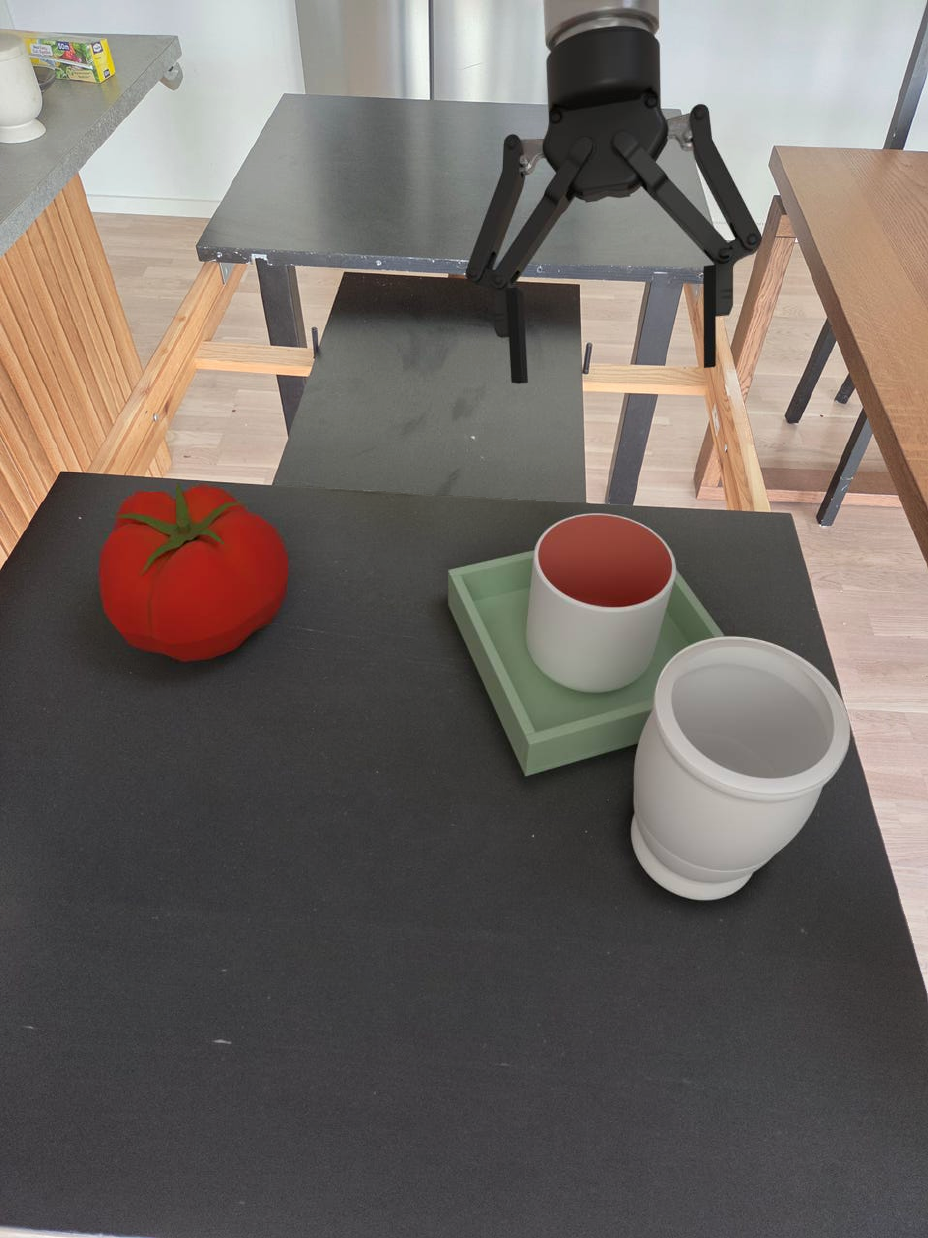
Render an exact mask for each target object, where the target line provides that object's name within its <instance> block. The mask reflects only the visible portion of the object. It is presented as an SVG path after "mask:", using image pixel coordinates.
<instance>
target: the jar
mask: <svg viewBox="0 0 928 1238" xmlns="http://www.w3.org/2000/svg"><path fill="white" fill-rule="evenodd" d="M849 719H850V718H849V715H848V712H847V708H846V706H845V704H844V702H843V700H842V698H841V696H840V695H839V692H838V691H837V689H836V688H835V686H833V684H832V683H831V682H830V680H829V679H828V678H827V677H826V676H825V675H824V674H823V673H822V672H821V671H820V670H819V669H818V668H816V666H814V665H813V664H812V663H810V661H807V660H806V659H805V658H803V657H801V656H800V655H799V654H797V653H795V652H793V651H791V650H789V649H787V648H785V647H782V646H780V645H777V644H775V643H772V642H769V641H766V640H762V639H758V638H753V637H745V636H725V637H717V638H711V639H707V640H703V641H700V642H697V643H694V644H692V645H690V646H688V647H686V648H685V649H683V650H681V651H680V652H679V653H677V654H676V655H675V656H674V657H673V658H672V659H671V660H670V661H669V662H668V663H667V665H666V666H665V667H664V669H663V671H662V672H661V674H660V677H659V679H658V682H657V685H656V688H655V692H654V697H653V710H652V712H651V714H650V716H649V718H648V720H647V722H646V724H645V726H644V729H643V731H642V734H641V737H640V740H639V743H637V747H636V753H635V758H634V767H633V810H634V812H633V813H634V814H633V815H632V819H631V824H630V825H631V826H630V839H631V844H632V848H633V851H634V854H635V856H636V859H637V860H638V862H639V864H640V866H641V867H642V869H643V870H644V871H645V872H646V874H647V875H649V877H650V878H651V879H652V880H653V881H655V883H657V884H658V885H659V886H660V887H662V888H664V889H665V890H667V891H669V892H671V893H672V894H675V895H677V896H679V897H683V898H686V899H690V900H695V901H714V900H720V899H723V898H726V897H728V896H731V895H733V894H735V893H736V892H737V891H739V890H741V888H743V887H744V886H745V885H746V884H747V883H748V882H749V880H750V878H751V877H752V876H753V873H754V872H756V871H758V870H759V869H761V868H762V867H763V866H764V865H766V864H767V863H768V862H769V861H770V860H771V859H772V858H774V856H775V855H777V854H778V853H779V852H780V851H782V850H783V849H784V848H785V847H786V846H787V845H788V844H789V843H791V841H792V840H794V838H795V837H796V836H797V835H798V834H799V833H800V831H801V830H802V828H803V827H804V826H805V824H806V823H807V822H808V820H809V818H810V817H811V815H812V813H813V811H814V809H815V807H816V805H817V803H818V800H819V798H820V795H821V793H822V790H823V787H824V786H825V785H826V784H827V783H828V782H830V780H831V779H832V778H833V777H834V776H835V774H836V773H837V772H838V770H839V768H840V767H841V765H842V764H843V761H844V759H845V757H846V755H847V752H848V750H849V746H850V740H851V727H850V726H851V725H850V720H849Z"/></svg>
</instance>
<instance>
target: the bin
mask: <svg viewBox="0 0 928 1238" xmlns="http://www.w3.org/2000/svg"><path fill="white" fill-rule="evenodd" d="M534 550H535V549H534ZM534 550H530V551H525V552H520V553H516V554H512V555H507V556H503V557H498V558H493V559H490V560H486V561H482V562H477V563H472V564H468V565H464V566H460V567H455V568H451V569H448V570H447V605H448V608H449V609H450V611H451V612H450V613H451V614H452V617H453V619H454V621H455V623H456V626H457V628H458V630H459V633H460V634H461V637H462V639H463V641H464V643H465V645H466V648H467V650H468V652H469V654H470V656H471V659H472V661H473V663H474V666H475V668H476V670H477V672H478V674H479V677H480V679H481V681H482V683H483V685H484V688H485V690H486V692H487V694H488V696H489V699H490V701H491V704H492V706H493V708H494V711H495V712H496V714H497V717H498V719H499V721H500V724H501V726H502V728H503V731H504V732H505V734H506V737H507V739H508V741H509V743H510V745H511V748H512V750H513V752H514V755H515V756H516V759H517V762H518V764H519V765H520V768H521V770H522V772H523V774H524V776H525V777H528V776H531V775H532V776H533V775H535V774H538V773H542V772H545V771H548V770H552V769H555V768H559V767H562V766H566V765H569V764H572V763H576V762H579V761H582V760H583V761H584V760H586V759H589V758H593V757H596V756H597V757H598V756H599V755H603V754H607V753H610V752H613V751H617V750H620V749H624V748H628V747H630V746H634V745H638V744H639V740H640V737H641V734H642V731H643V729H644V726H645V724H646V722H647V720H648V718H649V716H650V714H651V712H652V710H653V697H654V692H655V688H656V685H657V682H658V679H659V677H660V674H661V672H662V671H663V669H664V667H665V666H666V665H667V663H668V662H669V661H670V660H671V659H672V658H673V657H674V656H675V655H676V654H677V653H679V652H680V651H681V650H683V649H685V648H686V647H688V646H690V645H692V644H694V643H697V642H700V641H703V640H707V639H711V638H717V637H726V636H725V634H724V633H723V632H722V630H721V629H720V628H719V626H718V625H717V623H716V622H715V621H714V618H712V617H711V615H710V613H709V612H708V611H707V610H706V608H705V607H704V605H703V604H702V603H701V601H700V600H699V598H698V597H697V596H696V594H695V593H694V592H693V590H692V589H691V588H690V586H689V584H688V583H687V582H686V580H685V579H684V578H683V576H682V575H681V573H679V571H678V570H677V569H676V575H675V579H674V583H673V586H672V590H671V594H670V597H669V601H668V604H667V608H666V611H665V615H664V618H663V622H662V625H661V629H660V633H659V636H658V640H657V643H656V647H655V651H654V654H653V657H652V660H651V662H650V664H649V666H648V668H647V669H646V670H645V672H644V673H643V674H642V675H641V676H640V677H639V678H638V679H637V680H635V681H634V682H632V683H631V684H629V685H627V686H625V687H623V688H620V689H618V690H614V691H609V692H602V693H589V692H581V691H576V690H573V689H569V688H567V687H564V686H562V685H560V684H558V683H556V682H554V681H553V680H551V679H550V678H548V677H547V676H546V675H545V674H544V673H543V672H542V671H541V670H540V669H539V668H538V667H537V666H536V664H535V663H534V661H533V660H532V658H531V656H530V654H529V651H528V648H527V644H526V626H527V616H528V606H529V597H530V587H531V577H532V567H533V557H534Z"/></svg>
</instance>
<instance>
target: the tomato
mask: <svg viewBox="0 0 928 1238" xmlns="http://www.w3.org/2000/svg"><path fill="white" fill-rule="evenodd" d="M174 491H175V492H174V493H175V499H174V498H173V497H171V496H170V494H168V493H167V492H166V491H143V490H138V491H136V492H135V493H133V494H132V495H130V496H129V497H127V498H126V499H124V500H123V501H122V502H121V505H120V507H119V509H118V511H117V513H116V515H110V517H112V518H115V521H114V522H115V523H114V528H113V530H112V531H111V533H110V535H109V536H108V538H107V540H106V541H105V542H104V544H103V547H102V548H101V550H100V555H99V564H98V580H99V589H100V598H101V602H102V606H103V612H104V615H105V616H106V617H107V618H108V620H109V621H110V622H111V623H112V625H113V626H114V627H115V629H116V630H117V631H118V633H119V634H120V635H121V636H122V637H123V639H124V641H126V643H127V644H128V645H129V646H132V647H134V648H136V649H139V650H141V651H145V652H150V653H156V654H162V655H164V656H165V655H166V656H168V657H170V658H172V659H174V660H175V659H176V660H177V661H180V662H182V663H188V662H196V661H205V660H211V659H213V658H216V657H219V656H222V655H224V654H227V653H230V652H233V651H235V650H236V649H238V648H239V646H240V645H241V644H242V643H243V642H244V641H246V639H247V638H249V636H251V635H252V634H253V633H255V632H256V631H258V630H260V629H261V628H264V627H266V626H267V625H269V624H271V623H272V621H273V620H274V618H275V616H276V615H277V613H278V611H279V610H280V608H281V606H282V605H283V602H284V600H285V599H286V596H287V594H288V581H289V569H290V568H289V566H290V559H289V556H288V553H287V550H286V547H285V545H284V542H283V540H282V538H281V536H280V533H279V532H278V531H277V528H276V527H274V525H272V524H271V523H270V522H268V521H267V520H266V519H264V518H263V516H261V515H260V514H256V513H253V512H252V513H251V512H250V511H249V510H248V509H247V508H246V507H245V506H243V504H244V503H247V502H248V500H247V501H238V500H237V499H236V498H235V497H234V496H233V495H232V494H230V493H228V492H227V491H225V490H223V489H222V488H219V487H217V486H211V485H206V484H198V485H195V486H193V487H191V488H188V489H186V490H185V491H182V488H181V485H180V482H179V481H178V480H177V481H176V486H175V490H174Z"/></svg>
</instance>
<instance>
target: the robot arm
mask: <svg viewBox="0 0 928 1238" xmlns="http://www.w3.org/2000/svg"><path fill="white" fill-rule="evenodd" d="M542 1H543V21H544V22H543V23H544V42H545V46H546V48H547V49H548V51H549V54H548V56H547V58H546V60H545V64H546V65H545V66H546V87H547V88H546V89H547V90H546V91H547V111H548V125H547V130H546V133H545V135H544V138H525V139H521V138H520V137H519V136H518V135H517V134H515V133H511V134H509V135H507V136H506V137H505V138H504V140H503V145H502V147H503V149H502V171H501V173H500V176H499V178H498V181H497V184H496V187H495V190H494V192H493V195H492V197H491V201H490V203H489V206H488V208H487V212H486V214H485V217H484V219H483V222H482V225H481V228H480V230H479V233H478V236H477V239H476V241H475V243H474V247H473V249H472V251H471V255H470V257H469V260H468V262H467V266H466V268H465V277H466V279H467V280H468V281H469V282H470V283H472V284H474V285H476V286H478V287H482V288H487V289H489V290H490V292H491V295H492V311H493V312H492V313H493V327H494V331H495V334H496V336H497V337H498V338H500V339H504V338H508V344H509V345H508V346H509V347H508V348H509V363H510V365H509V366H510V380H511V381H510V382H511V384H517V385H518V384H528V383H529V379H528V377H529V376H528V375H529V374H528V357H527V339H526V337H527V336H526V319H525V318H526V317H525V316H526V315H525V301H524V299H525V297H524V291H522V290H521V289H520V288H518V287H514V286H515V285H516V283H517V282H518V280H519V279H520V277H521V276H522V274H523V273H524V271H525V269H527V267H528V265H529V264H530V263H531V261H532V259H533V258H534V256H535V255H536V253H537V252H538V250H539V249H540V248H541V246H542V244H543V243H544V241H545V240H546V238H547V237H548V235H549V234H550V232H551V231H552V230H553V228H554V227H555V225H556V224H557V222H558V220H559V219H560V218H561V216H562V215H563V214H564V213H565V212H566V211H567V210H568V208H569V207H570V206H571V204H572V202H573V201H574V199H575V198H576V199H578V200H580V201H583V202H585V203H586V204H587V203H595V202H598V201H601V200H603V199H605V198H608V197H609V198H616V199H624V198H630V197H631V195H632V194H634V193H636V192H637V191H638V190H639V189H640V188H642V189H643V190H644V191H645V193H646V194H648V195H649V196H650V197H651V199H653V200H654V201H655V202H656V203H657V204H658V205H659V207H661V208H662V209H663V210H664V212H665V213H666V214H667V215H668V216H669V217H670V218H671V219H672V220H673V221H674V223H676V225H678V227H679V228H680V229H681V230H682V232H684V233H685V234H686V236H688V238H689V239H690V240H691V241H692V242H693V243H694V244H695V245H696V246H697V248H698V249H700V251H701V252H702V253H703V254H704V255H705V256H706V257H707V258H708V260H709V261H710V262H711V263H712V264H710V265H704V266H703V271H702V294H703V296H702V298H703V300H702V305H703V307H702V310H703V312H702V313H703V314H702V315H703V317H702V318H703V320H702V321H703V324H702V325H703V326H702V327H703V329H702V330H703V369H708V368H716V366H717V332H716V331H717V317H728V316H730V315H731V312H732V309H733V307H734V267H735V264H736V263H737V262H739V261H740V260H743V259H745V258H747V257H749V256H752V255H755V254H756V253H757V251H758V250H759V248H760V247H761V244H762V240H763V237H762V233H761V231H760V229H759V227H758V226H757V224H756V222H755V220H754V218H753V216H752V214H751V212H750V210H749V208H748V206H747V204H746V202H745V200H744V198H743V196H742V194H741V192H740V191H739V188H738V186H737V185H736V183H735V181H734V178H733V177H732V175H731V173H730V171H729V169H728V167H727V165H726V163H725V161H724V160H723V157H722V156H721V153H720V151H719V150H718V147H717V145H716V144H715V142H714V139H713V134H712V124H711V118H710V117H711V116H710V110H709V107H708V106H707V105H705V104H704V103H699V104H696V105H694V106H693V108H691V111H690V112H689V113H685V114H681V115H677V116H674V117H671V118H666V116H665V115H664V113H663V109H662V100H661V99H662V97H661V96H662V94H661V93H662V92H661V86H662V85H661V44H660V41H659V40H658V38H656V34H657V33H658V31H659V30H660V0H542ZM669 140H675V141H677V142H678V144H679V147H680V148H681V150H682V151H684V152H692V154H693V158H694V162H695V164H696V166H697V168H698V170H699V172H700V173H701V175H702V177H703V180H704V182H705V184H706V185H707V187H708V189H709V191H710V193H711V195H712V198H713V199H714V201H715V203H716V204H717V205H716V206H718V208H719V210H720V213H721V214H722V217H723V218H724V220H725V222H726V224H727V227H728V228H729V230H730V232H731V234H732V236H733V238H734V239H732V240H730V241H727V240H726V239H725V237H723V236H722V234H721V233H720V232H719V231H718V230H717V228H716V227H714V225H712V223H711V222H709V220H708V219H707V218H706V217H705V216H704V215H703V213H701V212H700V210H698V208H697V207H696V206H695V205H694V204H693V203H692V202H691V201H690V200H689V199H688V198H687V196H686V195H685V194H684V193H683V192H682V191H681V190H680V189H679V187H678V186H676V184H675V183H674V182H673V181H672V180H671V179H670V177H669V176H668V175H667V173H666V172H665V171H664V169H663V168H662V167H661V166H660V165H659V164H658V163H657V161H658V159H659V157H660V156H661V154H662V152H663V151H664V150H665V147H666V146H667V144H668V142H669ZM542 159H545V160H546V162H547V163H548V164H549V166H550V167H551V168H552V170H553V171H554V173H555V174H554V175H553V177H552V179H551V180H550V182H549V183H548V185H547V186H546V188H545V189H544V192H543V195H542V197H541V199H540V200H539V202H538V204H536V206H535V208H534V209H533V211H532V212H531V214H530V216H529V217H528V219H527V220H526V221H525V223H524V225H523V226H522V228H521V230H520V231H519V232H518V234H517V235H516V237H515V239H514V240H513V242H512V243H511V245H510V246H509V248H508V249H507V251H506V252H505V254H504V255H503V256H502V258H501V260H500V261H499V263H498V264H497V266H496V267H495V264H496V261H497V259H498V256H499V254H500V251H501V248H502V245H503V242H504V240H505V238H506V235H507V232H508V230H509V226H510V224H511V222H512V219H513V216H514V213H515V211H516V208H517V206H518V203H519V200H520V197H521V195H522V192H523V190H524V186H525V181H526V176H529V175H531V174H533V172H534V171H535V169H536V165H537V164H538V162H539V161H540V160H542ZM494 267H495V269H494Z"/></svg>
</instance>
